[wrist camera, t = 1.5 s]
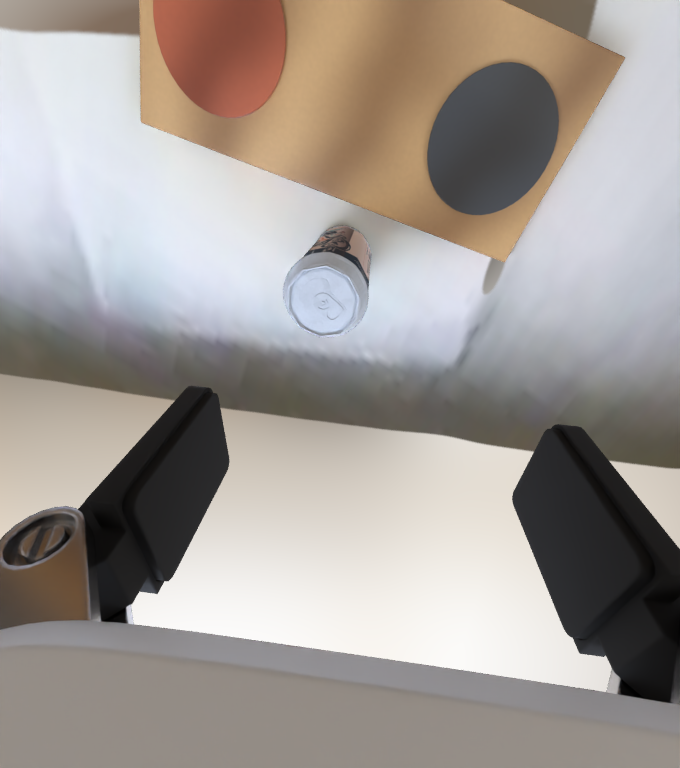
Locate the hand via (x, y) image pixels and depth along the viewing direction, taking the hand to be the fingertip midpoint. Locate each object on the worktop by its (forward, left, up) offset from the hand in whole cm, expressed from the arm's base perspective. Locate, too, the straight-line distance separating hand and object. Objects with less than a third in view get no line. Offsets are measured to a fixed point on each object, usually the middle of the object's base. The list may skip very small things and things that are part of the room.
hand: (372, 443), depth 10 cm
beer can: (-3, 0, -22) cm, 22 cm away
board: (-5, +10, -22) cm, 24 cm away
